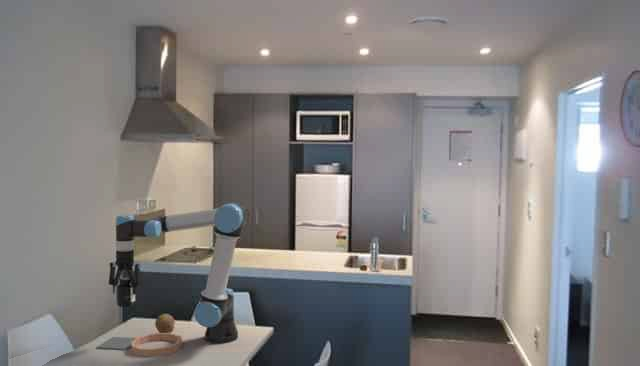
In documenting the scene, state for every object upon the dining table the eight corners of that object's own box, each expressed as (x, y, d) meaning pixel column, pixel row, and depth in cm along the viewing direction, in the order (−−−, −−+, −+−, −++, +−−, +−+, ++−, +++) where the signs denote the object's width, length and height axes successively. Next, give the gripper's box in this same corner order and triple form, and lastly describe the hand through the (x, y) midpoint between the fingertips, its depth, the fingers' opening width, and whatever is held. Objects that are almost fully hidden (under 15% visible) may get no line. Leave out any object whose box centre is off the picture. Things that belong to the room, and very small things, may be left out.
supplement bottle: (127, 307, 237) (127, 280, 236) (113, 306, 238) (113, 279, 237) (136, 303, 243) (136, 277, 243) (122, 302, 245) (122, 276, 244)
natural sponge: (158, 331, 259) (158, 311, 259) (177, 331, 259) (177, 311, 259) (153, 337, 250) (152, 316, 250) (172, 337, 250) (171, 316, 250)
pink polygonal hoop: (189, 340, 246) (188, 334, 246) (169, 357, 225) (169, 350, 225) (146, 338, 249) (145, 332, 249) (122, 354, 229) (122, 347, 229)
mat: (141, 339, 248) (141, 338, 248) (125, 350, 234) (125, 348, 234) (113, 338, 250) (113, 336, 250) (96, 348, 237) (96, 347, 237)
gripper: (149, 249, 242) (149, 299, 243) (108, 247, 245) (109, 297, 246) (141, 252, 234) (141, 304, 235) (99, 250, 237) (99, 301, 238)
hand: (125, 300), depth 240 cm, fingers closed on supplement bottle, 7 cm apart
